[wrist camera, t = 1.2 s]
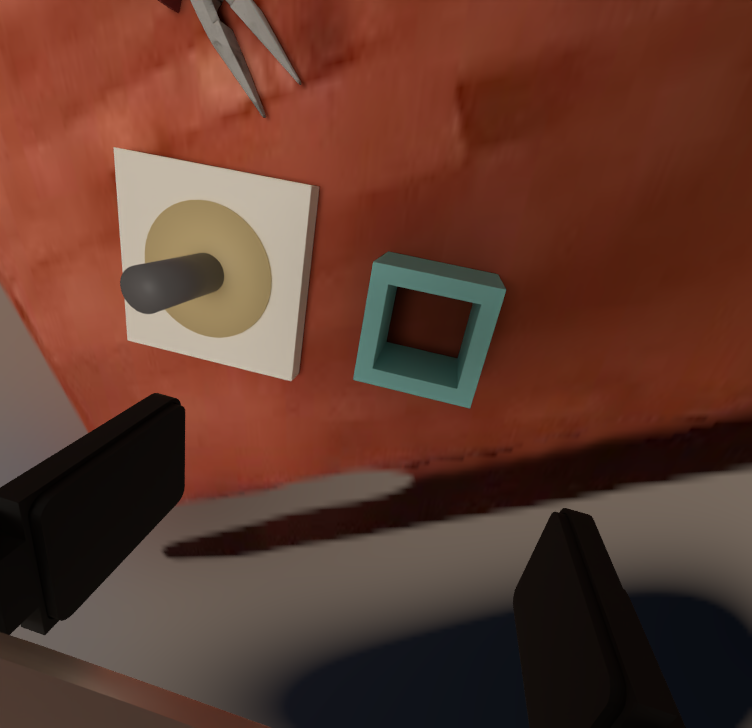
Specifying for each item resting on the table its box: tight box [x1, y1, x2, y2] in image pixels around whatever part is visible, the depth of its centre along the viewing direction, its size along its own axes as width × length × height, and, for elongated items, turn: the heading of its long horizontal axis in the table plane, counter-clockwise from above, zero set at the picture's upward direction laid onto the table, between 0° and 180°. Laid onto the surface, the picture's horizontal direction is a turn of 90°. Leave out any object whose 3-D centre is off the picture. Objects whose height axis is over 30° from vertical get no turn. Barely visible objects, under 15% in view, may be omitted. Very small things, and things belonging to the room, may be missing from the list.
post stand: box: [114, 147, 319, 381], centre depth 25 cm, size 13×13×8 cm
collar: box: [353, 252, 506, 408], centre depth 25 cm, size 7×7×5 cm
